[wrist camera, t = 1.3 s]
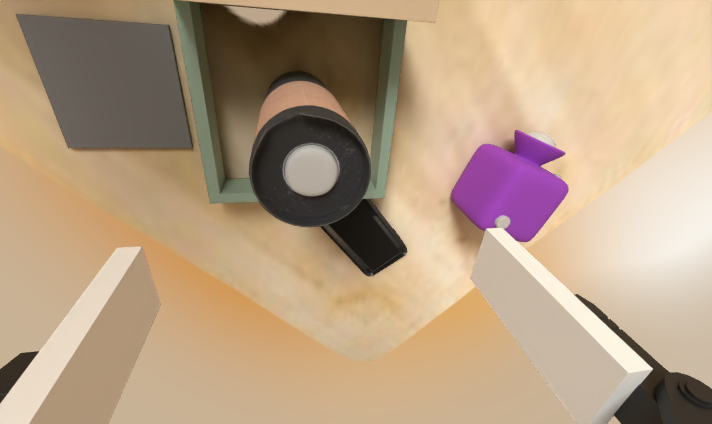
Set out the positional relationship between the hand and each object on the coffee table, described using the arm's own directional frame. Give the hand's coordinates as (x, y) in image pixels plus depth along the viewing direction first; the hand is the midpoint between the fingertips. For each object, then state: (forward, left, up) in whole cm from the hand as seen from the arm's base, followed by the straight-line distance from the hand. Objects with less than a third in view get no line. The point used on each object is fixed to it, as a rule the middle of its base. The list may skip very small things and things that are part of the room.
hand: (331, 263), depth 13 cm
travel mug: (0, 0, -28) cm, 28 cm away
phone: (+18, +9, -29) cm, 35 cm away
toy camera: (+8, +27, -28) cm, 40 cm away
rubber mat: (-1, -18, -28) cm, 33 cm away
